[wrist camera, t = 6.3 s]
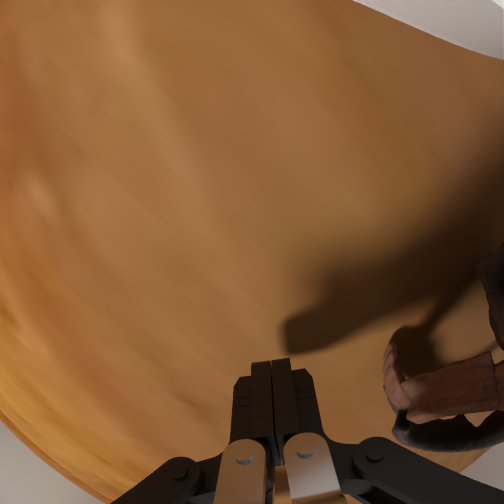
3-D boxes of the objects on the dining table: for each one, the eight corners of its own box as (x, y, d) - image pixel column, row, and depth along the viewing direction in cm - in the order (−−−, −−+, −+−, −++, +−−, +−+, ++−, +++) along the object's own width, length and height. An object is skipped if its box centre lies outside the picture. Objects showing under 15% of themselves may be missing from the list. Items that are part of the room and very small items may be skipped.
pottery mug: (503, 343, 14) (503, 455, 8) (385, 336, 18) (359, 451, 12) (567, 187, 7) (643, 325, 1) (399, 166, 11) (396, 324, 5)
